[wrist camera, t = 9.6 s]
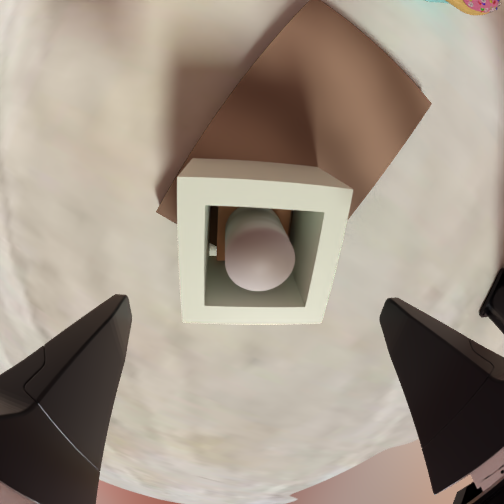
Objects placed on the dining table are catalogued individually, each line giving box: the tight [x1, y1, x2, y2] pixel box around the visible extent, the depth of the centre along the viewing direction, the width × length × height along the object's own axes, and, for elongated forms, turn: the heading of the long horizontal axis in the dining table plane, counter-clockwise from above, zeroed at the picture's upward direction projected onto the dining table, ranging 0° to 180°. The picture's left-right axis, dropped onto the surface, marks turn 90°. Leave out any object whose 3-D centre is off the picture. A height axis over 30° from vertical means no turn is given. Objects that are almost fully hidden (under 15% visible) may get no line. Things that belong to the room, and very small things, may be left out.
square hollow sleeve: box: [177, 158, 353, 325], centre depth 14 cm, size 7×7×5 cm
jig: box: [156, 0, 432, 291], centre depth 13 cm, size 16×10×6 cm, turn 145°
